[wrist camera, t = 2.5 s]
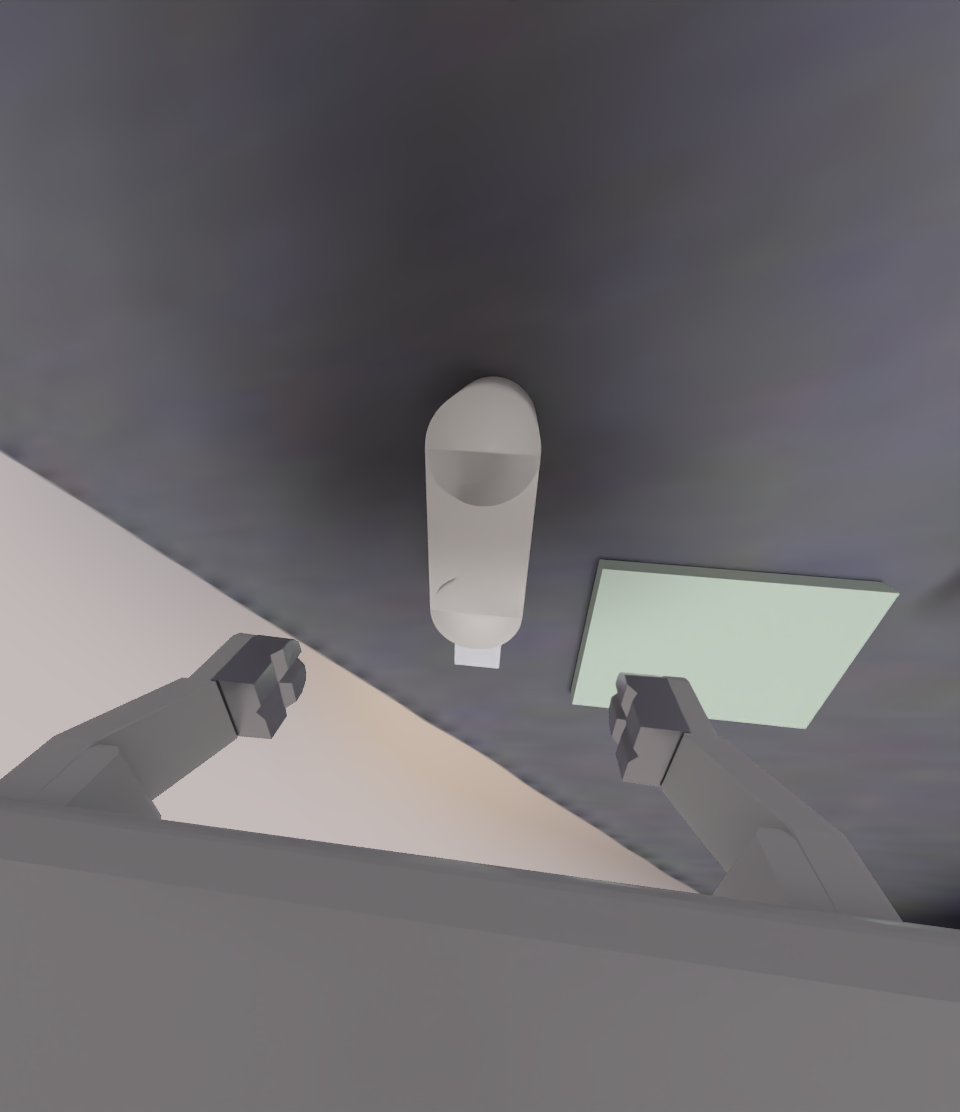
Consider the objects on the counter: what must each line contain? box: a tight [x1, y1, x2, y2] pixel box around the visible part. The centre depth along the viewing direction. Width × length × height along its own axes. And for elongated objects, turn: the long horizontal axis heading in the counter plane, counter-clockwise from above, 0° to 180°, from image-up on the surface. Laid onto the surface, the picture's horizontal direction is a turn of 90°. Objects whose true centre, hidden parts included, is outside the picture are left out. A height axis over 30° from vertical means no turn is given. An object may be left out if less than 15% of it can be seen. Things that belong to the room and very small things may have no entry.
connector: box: [425, 376, 541, 669], centre depth 18 cm, size 14×4×5 cm, turn 178°
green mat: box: [571, 559, 900, 729], centre depth 22 cm, size 10×14×1 cm
